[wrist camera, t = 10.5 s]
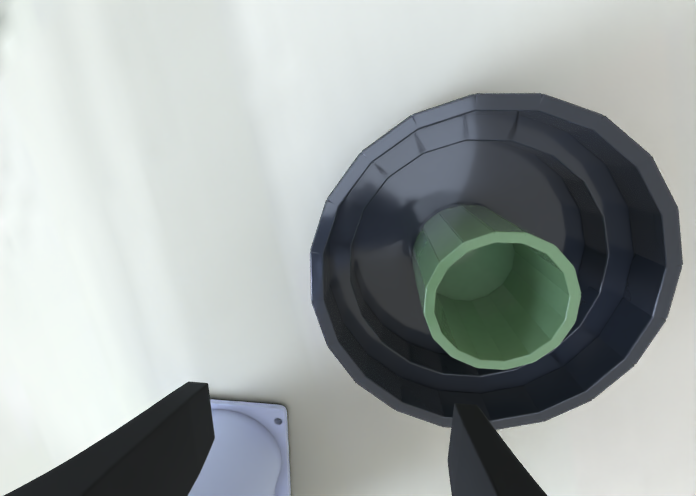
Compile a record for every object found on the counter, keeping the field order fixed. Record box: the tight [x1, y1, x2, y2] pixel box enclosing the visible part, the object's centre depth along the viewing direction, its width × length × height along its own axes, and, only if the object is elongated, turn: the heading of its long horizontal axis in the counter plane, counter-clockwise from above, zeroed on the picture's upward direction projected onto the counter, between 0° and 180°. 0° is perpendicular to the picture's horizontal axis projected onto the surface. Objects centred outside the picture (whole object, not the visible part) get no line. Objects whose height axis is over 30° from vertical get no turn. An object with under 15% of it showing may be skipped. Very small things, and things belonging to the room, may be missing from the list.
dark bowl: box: [310, 93, 683, 430], centre depth 17 cm, size 15×15×4 cm
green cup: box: [412, 204, 581, 370], centre depth 16 cm, size 5×5×6 cm
